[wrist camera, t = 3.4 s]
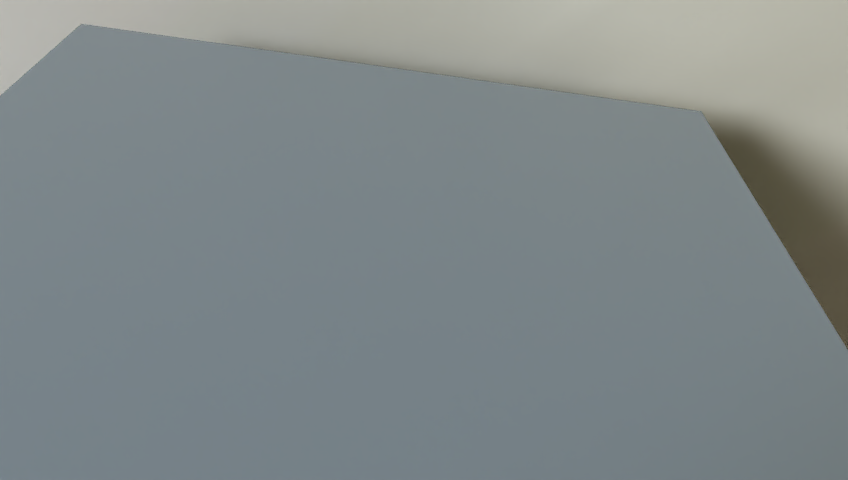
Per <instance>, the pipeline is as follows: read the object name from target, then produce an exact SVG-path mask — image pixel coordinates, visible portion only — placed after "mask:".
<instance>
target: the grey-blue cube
mask: <svg viewBox="0 0 848 480" xmlns="http://www.w3.org/2000/svg"><path fill="white" fill-rule="evenodd" d="M0 480H848V349H847V348H846V346H845V345H844V343H843V341H842V340H841V338H840V336H839V335H838V333H837V332H836V330H835V328H834V327H833V325H832V323H831V322H830V320H829V319H828V317H827V315H826V314H825V312H824V310H823V309H822V307H821V306H820V304H819V302H818V301H817V299H816V297H815V296H814V294H813V293H812V291H811V289H810V288H809V286H808V284H807V283H806V281H805V280H804V278H803V276H802V275H801V273H800V271H799V270H798V268H797V267H796V265H795V263H794V262H793V260H792V258H791V257H790V255H789V254H788V252H787V250H786V249H785V247H784V245H783V244H782V242H781V240H780V239H779V237H778V236H777V234H776V232H775V231H774V229H773V227H772V226H771V224H770V223H769V221H768V219H767V218H766V216H765V214H764V213H763V211H762V210H761V208H760V206H759V205H758V203H757V201H756V200H755V198H754V197H753V195H752V193H751V192H750V190H749V188H748V187H747V185H746V184H745V182H744V180H743V179H742V177H741V175H740V174H739V172H738V171H737V169H736V167H735V166H734V164H733V162H732V161H731V159H730V158H729V156H728V154H727V153H726V151H725V149H724V148H723V146H722V145H721V143H720V141H719V140H718V138H717V136H716V135H715V133H714V132H713V130H712V128H711V127H710V125H709V123H708V122H707V120H706V119H705V117H704V115H703V114H702V112H701V111H694V110H687V109H680V108H673V107H666V106H659V105H651V104H644V103H637V102H630V101H623V100H616V99H609V98H602V97H595V96H588V95H581V94H574V93H566V92H559V91H552V90H545V89H538V88H531V87H524V86H517V85H510V84H503V83H496V82H489V81H481V80H474V79H467V78H460V77H453V76H446V75H439V74H432V73H425V72H418V71H411V70H404V69H396V68H389V67H382V66H375V65H368V64H361V63H354V62H347V61H340V60H333V59H326V58H318V57H311V56H304V55H297V54H290V53H283V52H276V51H269V50H262V49H255V48H248V47H241V46H233V45H226V44H219V43H212V42H205V41H198V40H191V39H184V38H177V37H170V36H163V35H156V34H148V33H141V32H134V31H127V30H120V29H113V28H106V27H99V26H92V25H85V24H81V25H80V26H78V27H77V28H76V29H75V30H74V31H73V32H72V33H71V34H69V35H68V36H67V37H66V38H65V39H64V40H63V41H62V42H60V43H59V44H58V45H57V46H56V47H55V48H54V49H53V50H51V51H50V52H49V53H48V54H47V55H46V56H45V57H44V58H42V59H41V60H40V61H39V62H38V63H37V64H36V65H35V66H33V67H32V68H31V69H30V70H29V71H28V72H27V73H26V74H24V75H23V76H22V77H21V78H20V79H19V80H18V81H17V82H15V83H14V84H13V85H12V86H11V87H10V88H9V89H8V90H6V91H5V92H4V93H3V94H2V95H1V96H0Z"/></svg>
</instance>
